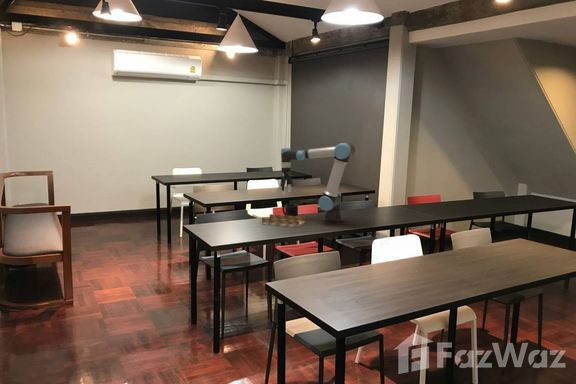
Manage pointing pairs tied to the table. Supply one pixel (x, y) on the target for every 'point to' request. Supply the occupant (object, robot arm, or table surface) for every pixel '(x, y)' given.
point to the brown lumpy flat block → (284, 220)
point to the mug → (290, 210)
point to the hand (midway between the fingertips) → (286, 193)
